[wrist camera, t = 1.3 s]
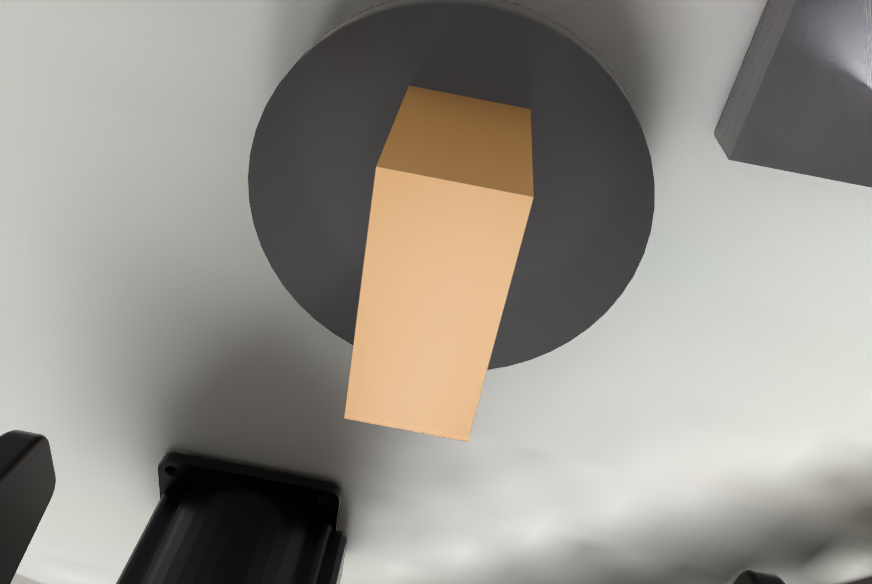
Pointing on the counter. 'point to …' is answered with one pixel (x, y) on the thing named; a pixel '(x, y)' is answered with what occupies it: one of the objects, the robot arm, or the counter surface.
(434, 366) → the disc with orange block
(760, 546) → the counter surface
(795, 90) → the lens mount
